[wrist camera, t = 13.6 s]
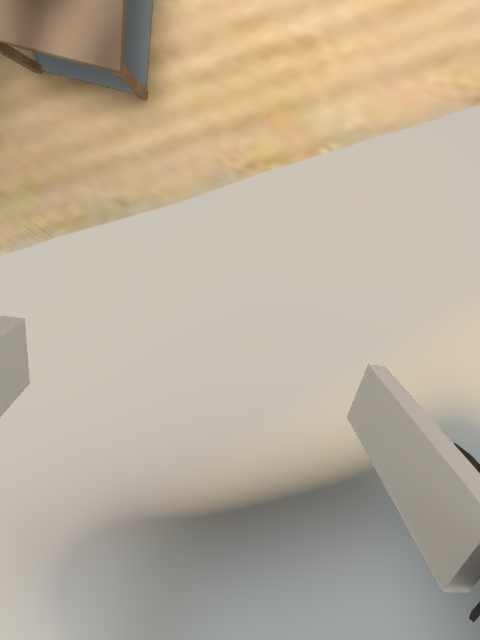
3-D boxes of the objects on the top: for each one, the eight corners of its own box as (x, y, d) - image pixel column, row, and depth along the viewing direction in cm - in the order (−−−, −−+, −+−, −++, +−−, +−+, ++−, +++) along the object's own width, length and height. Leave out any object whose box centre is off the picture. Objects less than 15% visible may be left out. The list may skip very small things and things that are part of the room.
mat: (39, 70, 37) (37, 68, 37) (34, -74, 33) (31, -77, 32) (145, 96, 39) (145, 95, 39) (155, -36, 35) (154, -39, 34)
